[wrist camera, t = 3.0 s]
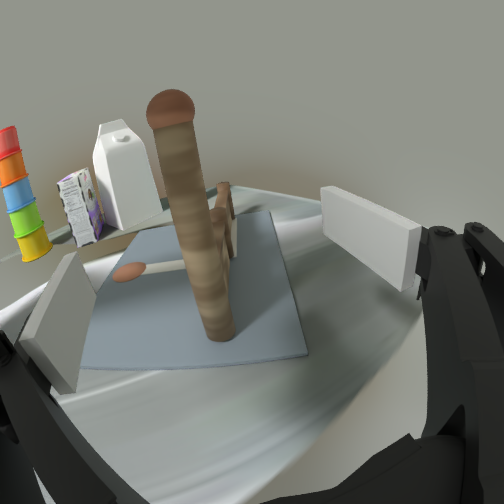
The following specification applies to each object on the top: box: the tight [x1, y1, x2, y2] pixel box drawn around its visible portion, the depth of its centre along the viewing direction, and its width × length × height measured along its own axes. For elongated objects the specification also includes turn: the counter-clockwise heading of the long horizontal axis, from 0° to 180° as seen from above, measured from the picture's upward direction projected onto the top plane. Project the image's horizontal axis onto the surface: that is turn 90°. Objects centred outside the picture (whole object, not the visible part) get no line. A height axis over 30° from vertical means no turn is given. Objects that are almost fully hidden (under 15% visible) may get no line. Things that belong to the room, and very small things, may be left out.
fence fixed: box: [209, 182, 235, 259], centre depth 47 cm, size 2×18×7 cm, turn 3°
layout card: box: [80, 210, 308, 370], centre depth 42 cm, size 28×38×1 cm
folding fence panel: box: [146, 89, 236, 342], centre depth 28 cm, size 16×4×22 cm, turn 3°
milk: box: [93, 119, 163, 231], centre depth 64 cm, size 12×12×26 cm
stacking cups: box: [0, 126, 53, 262], centre depth 52 cm, size 10×10×35 cm
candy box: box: [57, 168, 104, 248], centre depth 60 cm, size 14×6×16 cm, turn 22°
